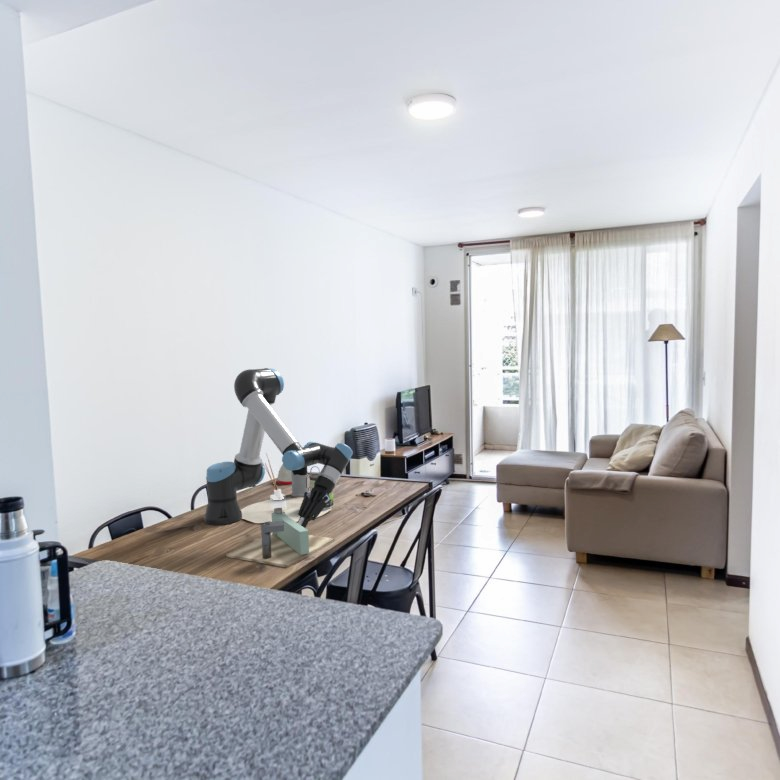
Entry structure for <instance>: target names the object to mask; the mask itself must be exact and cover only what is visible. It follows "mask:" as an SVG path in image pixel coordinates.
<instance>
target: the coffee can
mask: <svg viewBox="0 0 780 780" xmlns="http://www.w3.org/2000/svg"><path fill="white" fill-rule="evenodd" d="M318 476H319V473H314V474H311V475H308V479H309V487H310V488H309V492H311V490H312V489H313V488H314V482H315V481H316V479H317V477H318ZM328 497H329V499H330V500H331V501H330V502H329V503H328V504H327V505H326V506H325V507H324V509H325V510H329V509H333V508H334V506H335V505H334V490H333V491H332V492H331V493H330V494H329V496H328ZM324 509H323V510H324ZM323 510H322V511H323Z"/></svg>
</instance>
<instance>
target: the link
mask: <svg viewBox="0 0 780 780" xmlns="http://www.w3.org/2000/svg"><path fill="white" fill-rule="evenodd" d="M277 521H284V525H285V527H284V531H281V532H271V533H272V535H273V536H278V537H279V538H280V539H281V540H283V541H284V542H285V543H286V544H288V545H289V546H290V547H291V548H293V549H294V550H295V551H296V552H298V553H299V554H300V555H304V554H308V553H309V536H308V535H309V530H308V529H307V528H306V527H305V528H304V527H303V526H301V525H300V524H298V523H297V522H298V521H295V520H293V519H292V518H291V517H289V516H288V515H287V514H286V512H285V511H282V513H279V514H275V513H274V511H273V512H272V513H271V522H277Z"/></svg>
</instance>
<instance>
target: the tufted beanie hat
mask: <svg viewBox="0 0 780 780" xmlns="http://www.w3.org/2000/svg"><path fill="white" fill-rule="evenodd" d="M277 484H279V485H289V486H290V485H292V475H291V471H290V470H287V469H286V468H285V467H284V465H283V464H282V465H281V466H280V467H279V471H278V473H277Z"/></svg>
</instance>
